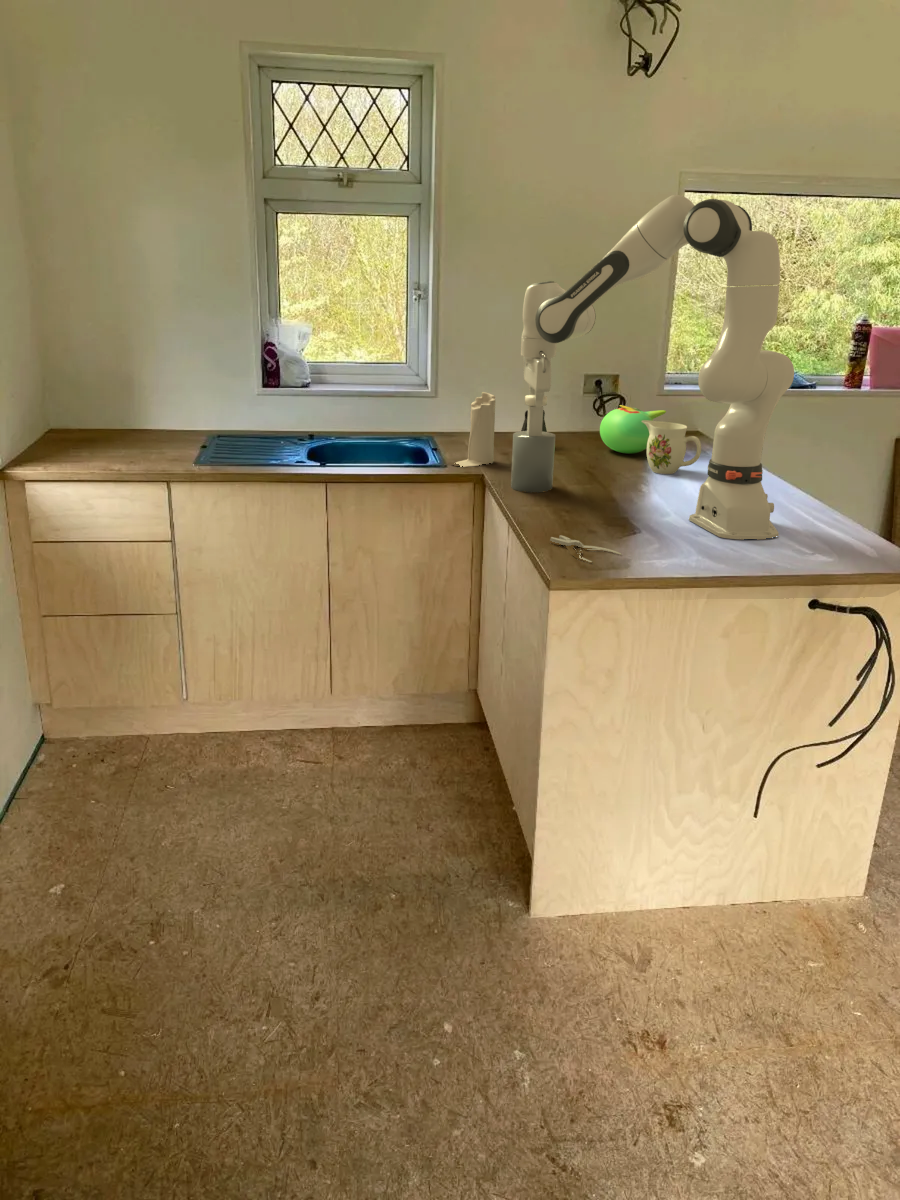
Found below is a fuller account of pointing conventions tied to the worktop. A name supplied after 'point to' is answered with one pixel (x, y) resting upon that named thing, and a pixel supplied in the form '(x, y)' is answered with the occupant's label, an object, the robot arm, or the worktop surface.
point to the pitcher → (668, 446)
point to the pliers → (569, 542)
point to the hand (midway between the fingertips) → (535, 404)
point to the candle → (481, 431)
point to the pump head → (531, 400)
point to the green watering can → (627, 429)
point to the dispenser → (533, 455)
